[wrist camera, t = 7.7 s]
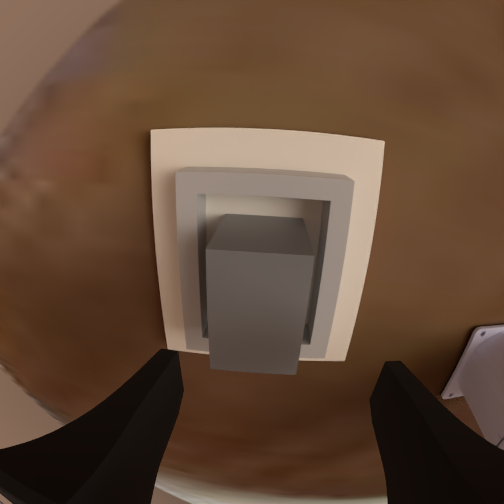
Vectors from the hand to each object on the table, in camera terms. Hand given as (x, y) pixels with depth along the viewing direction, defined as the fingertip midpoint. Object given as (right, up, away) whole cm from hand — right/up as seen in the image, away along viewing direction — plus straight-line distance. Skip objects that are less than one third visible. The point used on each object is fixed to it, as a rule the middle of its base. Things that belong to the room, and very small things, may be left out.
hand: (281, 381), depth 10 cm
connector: (-1, +4, +7) cm, 8 cm away
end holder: (0, +4, +8) cm, 9 cm away
